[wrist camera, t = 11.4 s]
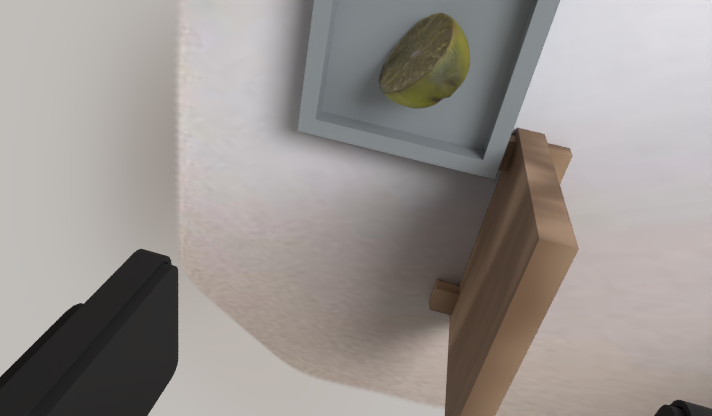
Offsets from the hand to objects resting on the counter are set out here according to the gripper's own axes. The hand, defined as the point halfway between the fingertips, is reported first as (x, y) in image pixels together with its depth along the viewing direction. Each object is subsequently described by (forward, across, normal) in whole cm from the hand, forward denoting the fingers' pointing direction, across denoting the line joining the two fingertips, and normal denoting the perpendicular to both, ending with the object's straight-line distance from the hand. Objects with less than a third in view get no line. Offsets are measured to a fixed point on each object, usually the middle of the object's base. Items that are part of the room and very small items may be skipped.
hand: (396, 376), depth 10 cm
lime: (+23, +2, 0) cm, 23 cm away
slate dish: (+24, +2, 0) cm, 24 cm away
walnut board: (+24, -6, +11) cm, 27 cm away
